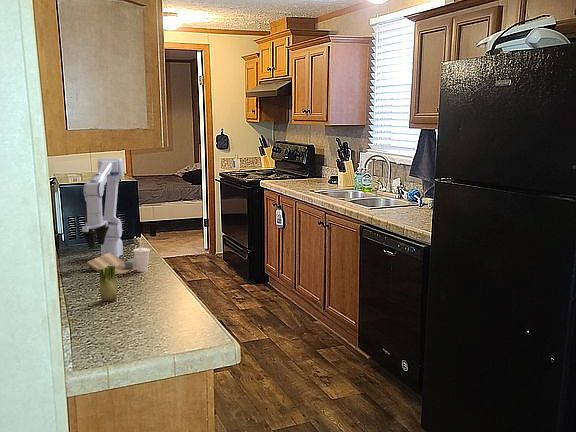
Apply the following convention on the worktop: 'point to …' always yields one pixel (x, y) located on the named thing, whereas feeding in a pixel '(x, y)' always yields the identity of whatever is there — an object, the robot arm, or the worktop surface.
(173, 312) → the worktop surface
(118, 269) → the laid strip
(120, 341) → the worktop surface
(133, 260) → the block
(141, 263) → the smoothie
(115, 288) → the fennel bulb
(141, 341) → the worktop surface
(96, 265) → the board
